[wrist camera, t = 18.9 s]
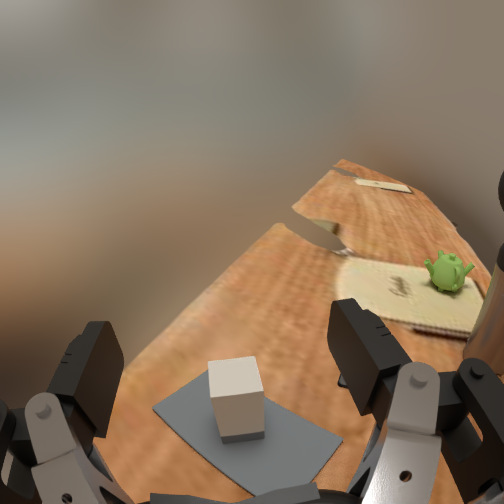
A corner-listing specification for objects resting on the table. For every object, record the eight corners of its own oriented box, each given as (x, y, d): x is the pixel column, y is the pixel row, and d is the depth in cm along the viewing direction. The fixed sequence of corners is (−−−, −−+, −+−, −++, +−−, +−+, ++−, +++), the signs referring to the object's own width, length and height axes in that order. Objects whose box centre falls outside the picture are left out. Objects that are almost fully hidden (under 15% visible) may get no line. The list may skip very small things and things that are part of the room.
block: (263, 390, 24) (264, 438, 28) (254, 355, 29) (257, 407, 33) (210, 397, 24) (222, 444, 28) (207, 361, 28) (219, 412, 32)
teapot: (455, 304, 50) (465, 269, 46) (416, 284, 59) (423, 252, 56) (469, 287, 55) (477, 256, 52) (434, 271, 64) (440, 241, 61)
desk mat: (342, 440, 27) (343, 438, 27) (281, 513, 19) (282, 512, 19) (215, 367, 41) (214, 364, 41) (153, 409, 33) (151, 407, 32)
